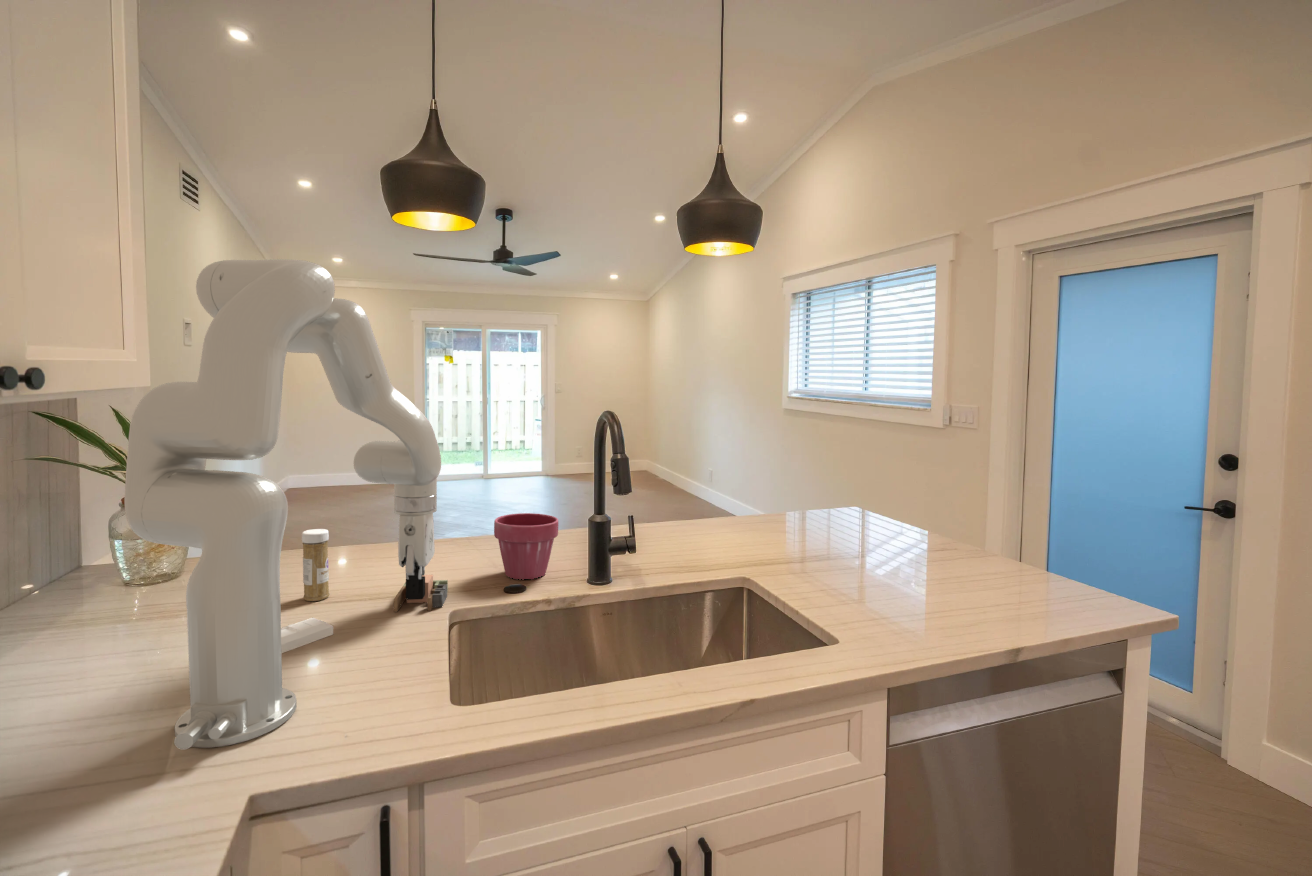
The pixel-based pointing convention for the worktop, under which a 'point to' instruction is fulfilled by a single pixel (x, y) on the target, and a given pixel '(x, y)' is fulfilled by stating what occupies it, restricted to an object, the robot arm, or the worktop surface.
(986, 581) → the worktop surface
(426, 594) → the block
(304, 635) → the white flat block
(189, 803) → the worktop surface
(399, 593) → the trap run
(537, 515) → the plant pot
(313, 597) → the sprinkles bottle
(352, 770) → the worktop surface
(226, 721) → the robot arm
